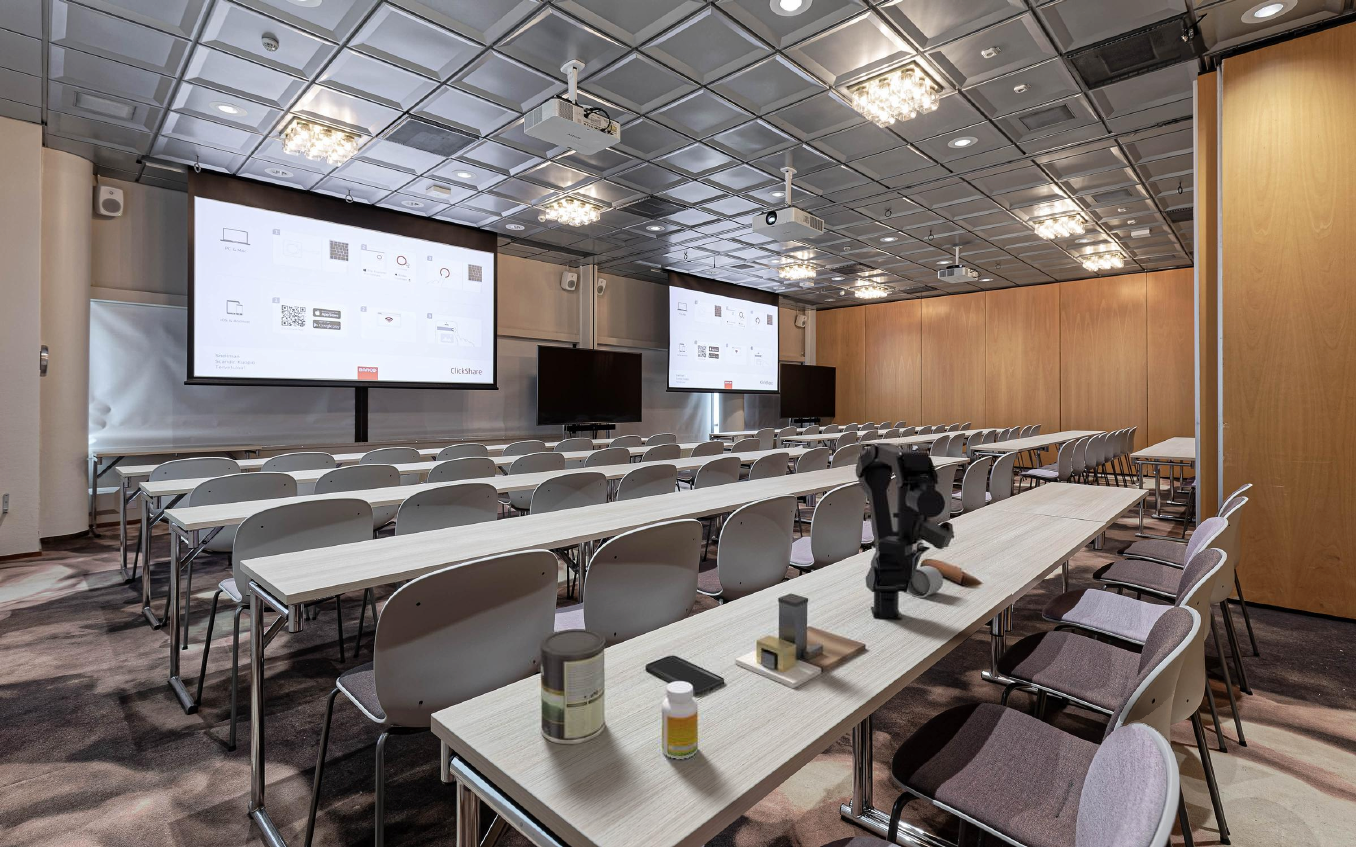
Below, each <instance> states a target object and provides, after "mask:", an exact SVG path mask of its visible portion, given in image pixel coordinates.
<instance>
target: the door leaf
mask: <svg viewBox="0 0 1356 847" xmlns="http://www.w3.org/2000/svg"><path fill="white" fill-rule="evenodd" d="M816 644H821V645H823V654H822V655H820V656H818V657H816V658H814V659H812V660H810V661H807V660H804V657H802V658H800V659H798V660H800V661H803V662H806V663H808V664H811V665H814V666H816V667H819V668H821V673H824V672H826V671H829V670H830V669H832V668H833V667H835V666H837V665H839V664H841V663H842V662H845V661H846V660H848V659H850V658H852V657H854V656H855V655H858V654H859V653H861V652H862V651H864V650H866V647H867V646H866V644H867V643H863V642H861V641H857V640H855V639H852V638H851V639H850V638H848V637H845V636H841V635H839V634H835V633H832V632H829V631H826V630H823V629H819V628H817V627H813V626H810V625H809V626H807V649H808V648H810V647H812V646H814V645H816Z"/></svg>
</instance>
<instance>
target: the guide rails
mask: <svg viewBox="0 0 1356 847" xmlns="http://www.w3.org/2000/svg"><path fill="white" fill-rule="evenodd" d="M822 654H823V645H821V644H816V645H814V646H812V647H810V648H808V649H806V650H804V660H807V661H810V660H812V659H814V658H816V657H818V656H820V655H822Z"/></svg>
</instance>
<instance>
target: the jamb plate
mask: <svg viewBox="0 0 1356 847" xmlns="http://www.w3.org/2000/svg"><path fill="white" fill-rule="evenodd" d="M734 663H735V665H736V666H739V667H741V668H744V669H746V670H748V671H751V672H754V673H756V674H759V675H761V676H763V677H765V678H767V679H771V680H773V681H775V682H778V683H779V684H782V685H784V686H787V687H789V688H792V689H795V688H797V687H799V686H800V685H801V686H802V684H805V683H806V682H808V681H810V680H811V679H813V678H815V677H817V676H819V675H820V674H822V672H821V668H819V667H816V666H814V665H811V664H808V663H806V662H803V661H800V660H796V666H795V667H793V668H792V669H790V670H788V671H786V672H784V673H782V672H780V671H778V668H776V669H772V668H769V667H767V666H764V665H762V664H760V663H757V662H756V649H755V650H752V651H750V652H748V653H746V654H743V655H741V656H740V657H737V658H735V662H734Z"/></svg>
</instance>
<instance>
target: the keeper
mask: <svg viewBox="0 0 1356 847" xmlns="http://www.w3.org/2000/svg"><path fill="white" fill-rule="evenodd" d="M755 647H756V649H755V650H756V662H757V663H760V664H762V651H764V650H769V651H772V652H775V653H777V654H778V671H780V672H782V673H784V672H786V671H788V670H790V669H792V668H793V667H795V666H796V644H793V643H790V642H787V641H784V640H782V639H779V637H775V636H774V635H770V634H769V635H766V636H764V637H761V638H759V639H757V640H756V646H755Z"/></svg>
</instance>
